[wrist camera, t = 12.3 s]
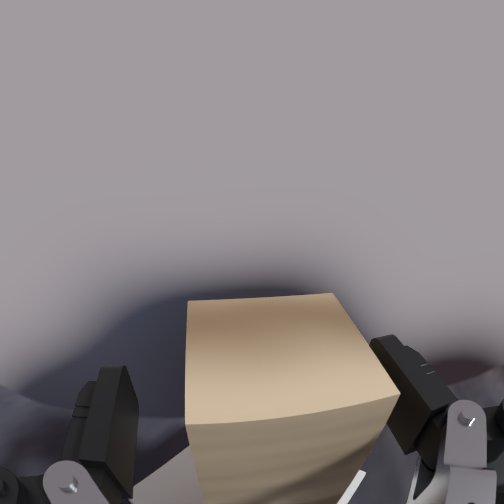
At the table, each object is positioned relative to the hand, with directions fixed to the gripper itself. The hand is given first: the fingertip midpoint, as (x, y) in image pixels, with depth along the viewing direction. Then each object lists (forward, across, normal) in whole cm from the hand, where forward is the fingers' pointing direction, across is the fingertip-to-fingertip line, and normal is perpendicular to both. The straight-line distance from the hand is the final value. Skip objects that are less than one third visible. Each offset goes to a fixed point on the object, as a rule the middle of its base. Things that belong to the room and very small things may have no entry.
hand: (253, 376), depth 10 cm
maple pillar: (0, 0, +10) cm, 10 cm away
